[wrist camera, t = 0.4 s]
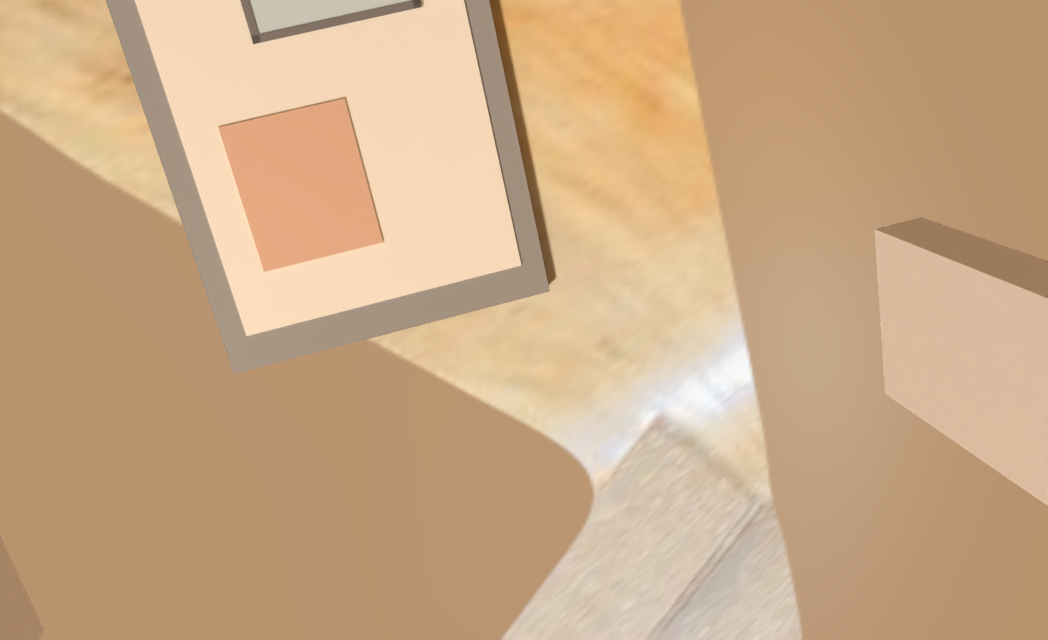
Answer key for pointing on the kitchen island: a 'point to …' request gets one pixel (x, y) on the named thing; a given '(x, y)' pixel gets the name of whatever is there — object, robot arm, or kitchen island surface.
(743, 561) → the kitchen island surface
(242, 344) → the picture board
